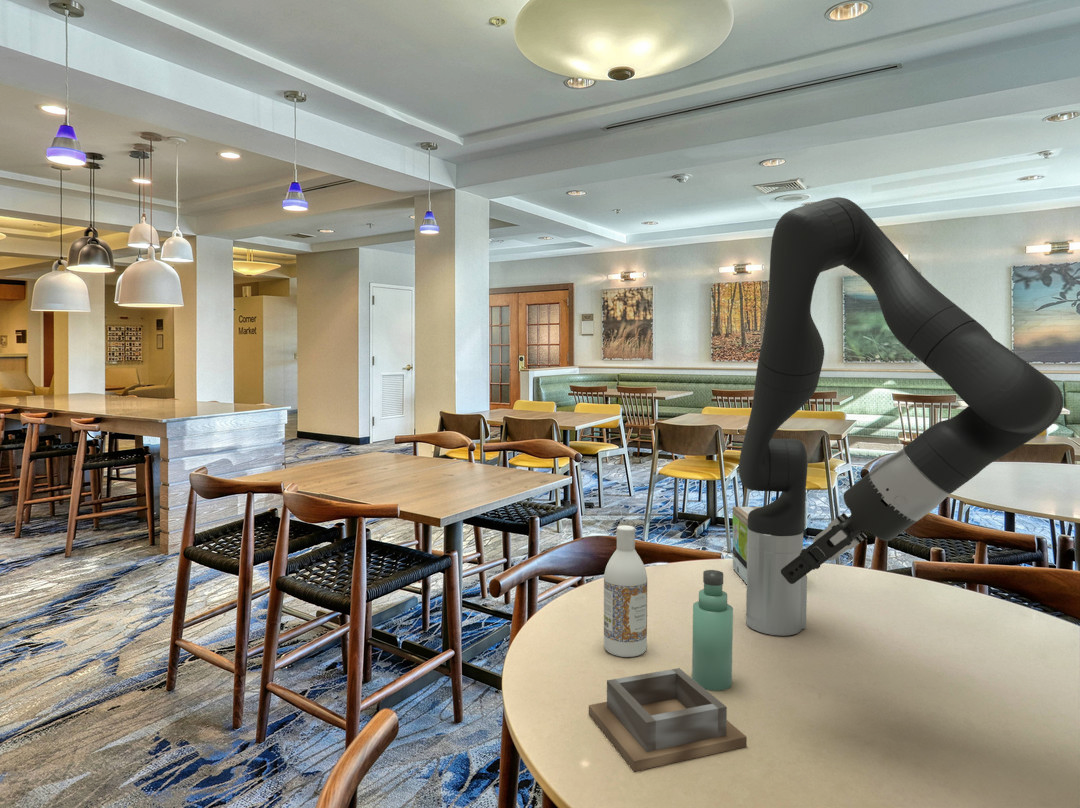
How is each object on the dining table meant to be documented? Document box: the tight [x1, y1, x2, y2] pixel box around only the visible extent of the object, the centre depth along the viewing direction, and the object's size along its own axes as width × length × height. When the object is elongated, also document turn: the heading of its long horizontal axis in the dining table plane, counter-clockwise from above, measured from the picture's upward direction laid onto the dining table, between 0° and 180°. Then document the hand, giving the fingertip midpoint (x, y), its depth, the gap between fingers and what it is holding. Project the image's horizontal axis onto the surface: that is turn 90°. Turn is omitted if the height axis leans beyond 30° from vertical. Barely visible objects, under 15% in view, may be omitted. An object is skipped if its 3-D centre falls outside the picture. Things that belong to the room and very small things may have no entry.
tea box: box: [732, 506, 761, 584], centre depth 140 cm, size 15×10×15 cm
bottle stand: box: [588, 667, 748, 772], centre depth 81 cm, size 15×13×5 cm
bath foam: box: [603, 524, 648, 658], centre depth 105 cm, size 7×7×20 cm
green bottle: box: [691, 569, 734, 692], centre depth 94 cm, size 6×6×16 cm
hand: (796, 569), depth 86 cm, fingers open, 8 cm apart
